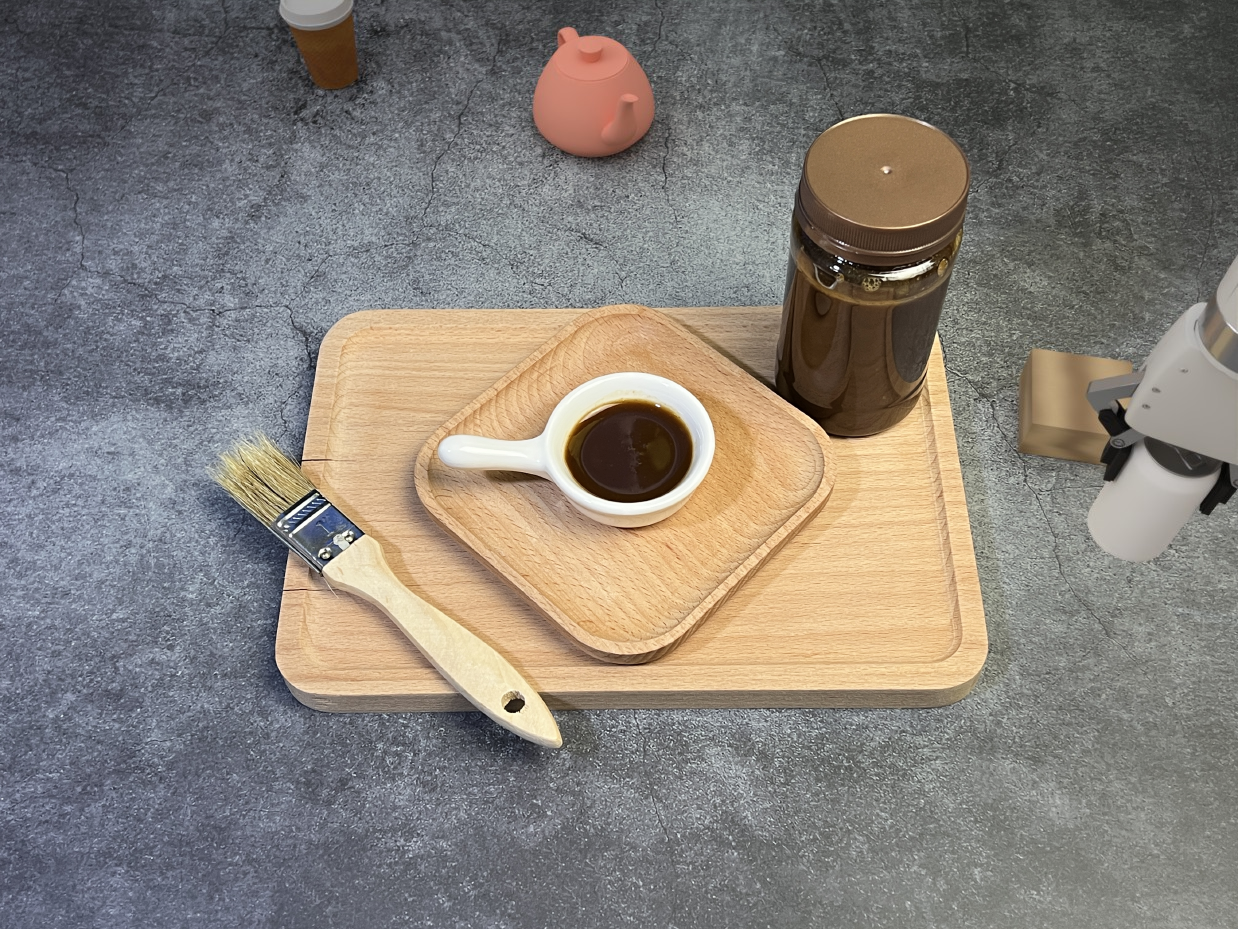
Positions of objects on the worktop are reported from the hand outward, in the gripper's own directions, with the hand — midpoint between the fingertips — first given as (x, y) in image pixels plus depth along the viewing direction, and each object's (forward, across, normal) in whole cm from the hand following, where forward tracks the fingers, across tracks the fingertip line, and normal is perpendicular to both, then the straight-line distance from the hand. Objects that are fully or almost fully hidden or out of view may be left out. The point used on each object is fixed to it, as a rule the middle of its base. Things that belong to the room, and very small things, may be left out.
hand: (1158, 482), depth 85 cm
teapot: (+22, +70, -44) cm, 86 cm away
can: (+7, 0, 0) cm, 7 cm away
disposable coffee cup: (+22, +109, -40) cm, 118 cm away
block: (+22, +5, -22) cm, 31 cm away
